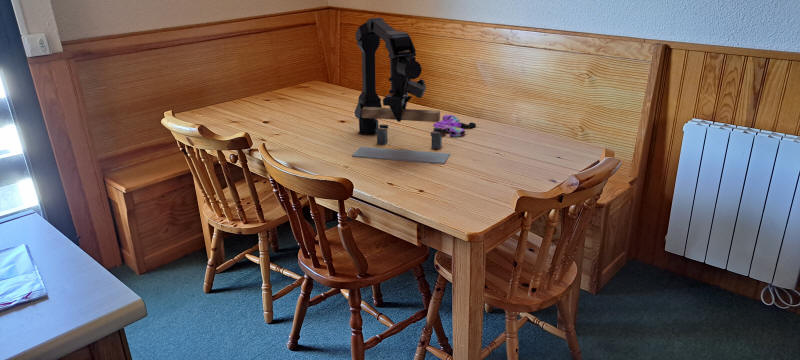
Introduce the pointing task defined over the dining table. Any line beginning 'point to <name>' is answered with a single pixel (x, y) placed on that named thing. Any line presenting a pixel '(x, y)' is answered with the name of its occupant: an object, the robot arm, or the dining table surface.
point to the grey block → (437, 138)
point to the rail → (406, 114)
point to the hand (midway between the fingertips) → (400, 120)
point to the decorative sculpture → (453, 125)
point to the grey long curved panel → (401, 155)
